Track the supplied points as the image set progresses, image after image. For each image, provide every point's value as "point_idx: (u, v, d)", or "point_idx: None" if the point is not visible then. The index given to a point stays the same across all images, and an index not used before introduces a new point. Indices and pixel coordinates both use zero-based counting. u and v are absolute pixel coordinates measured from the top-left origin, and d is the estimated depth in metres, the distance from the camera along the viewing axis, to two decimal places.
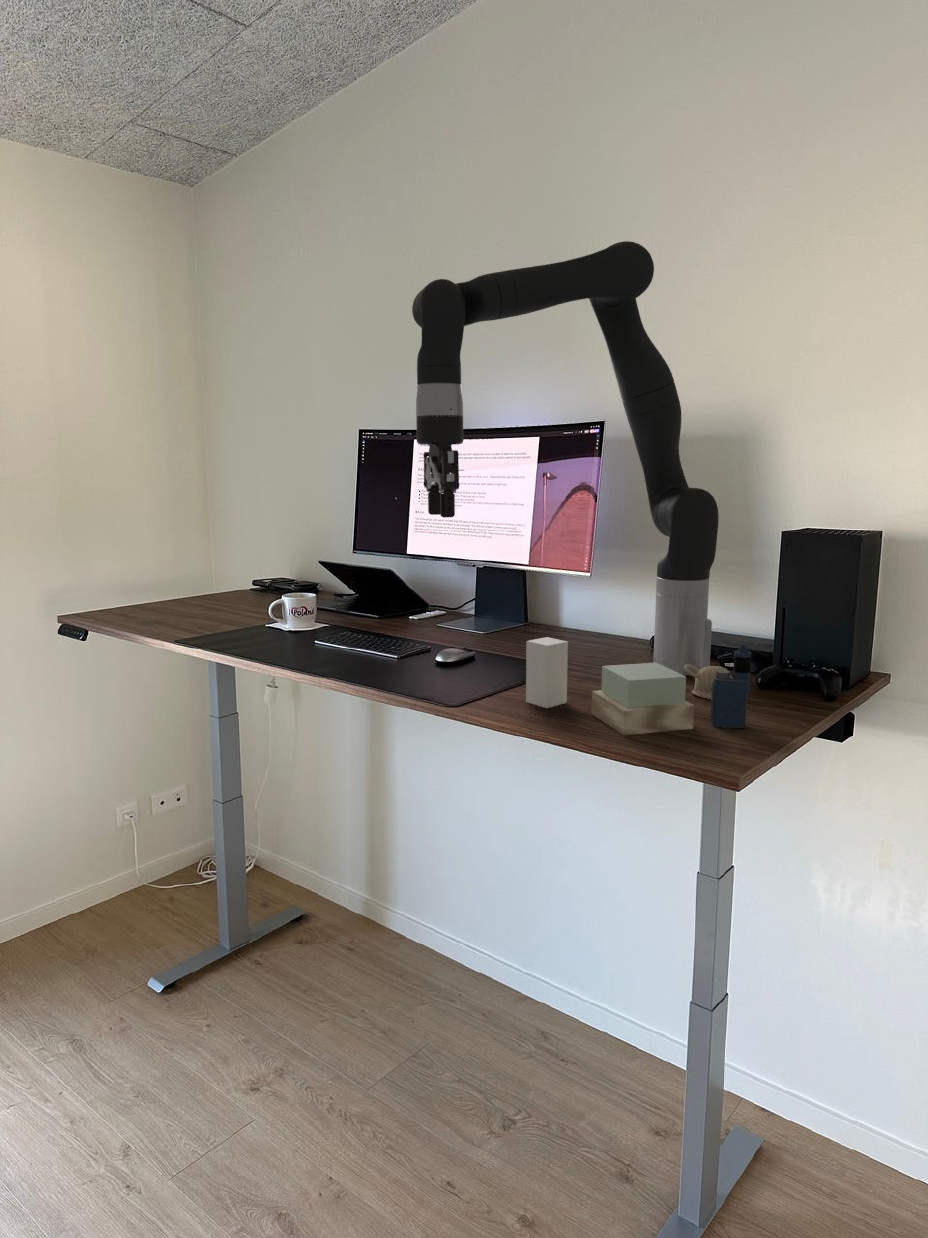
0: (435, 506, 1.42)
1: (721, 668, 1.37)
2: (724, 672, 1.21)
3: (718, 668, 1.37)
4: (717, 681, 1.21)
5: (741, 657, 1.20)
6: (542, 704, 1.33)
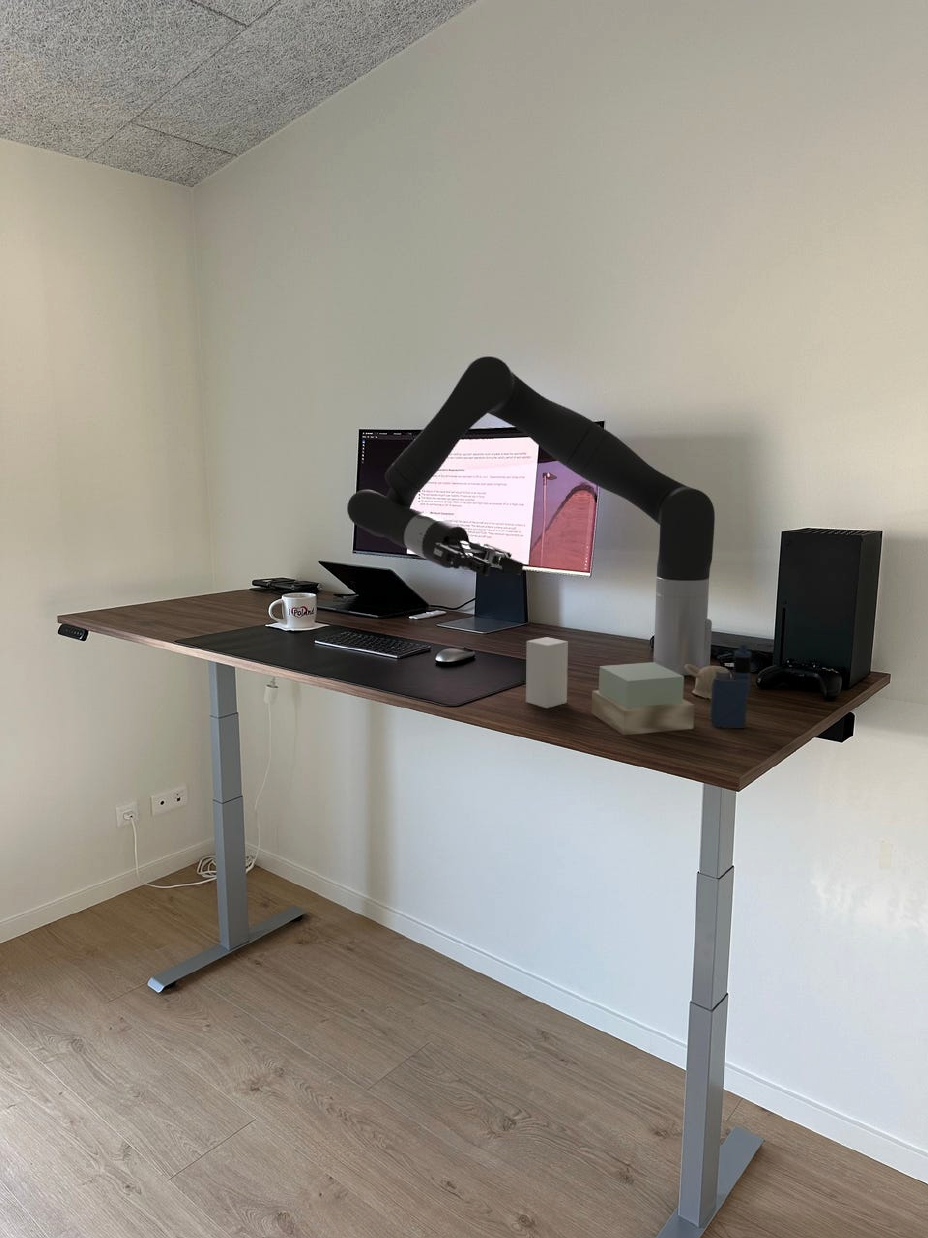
0: (513, 567, 1.43)
1: (722, 668, 1.37)
2: (724, 672, 1.21)
3: (719, 668, 1.37)
4: (717, 681, 1.21)
5: (741, 657, 1.20)
6: (542, 704, 1.33)
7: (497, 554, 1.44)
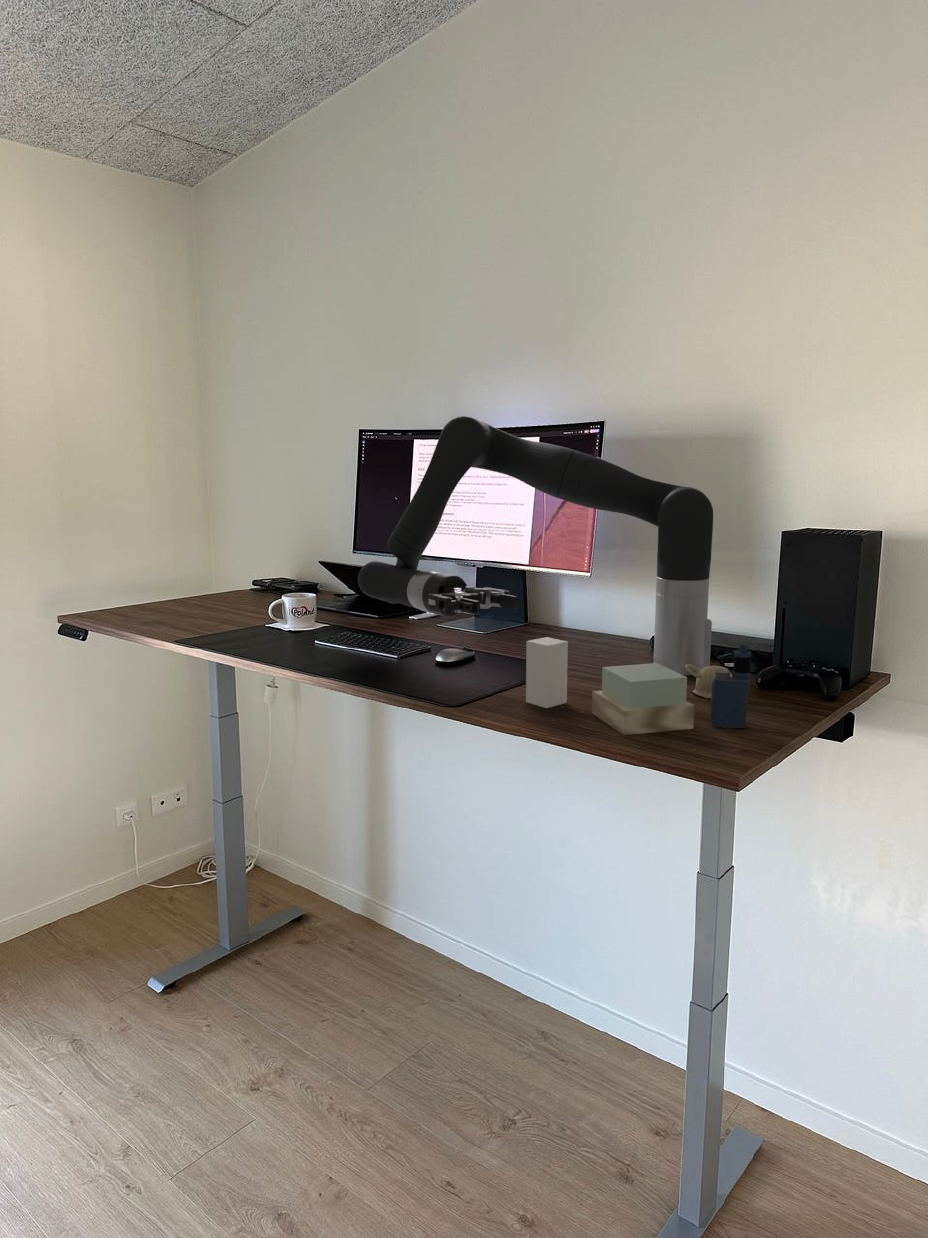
0: (509, 602, 1.45)
1: (722, 668, 1.37)
2: (724, 672, 1.21)
3: (719, 668, 1.37)
4: (717, 681, 1.21)
5: (741, 657, 1.20)
6: (542, 704, 1.33)
7: (493, 593, 1.47)
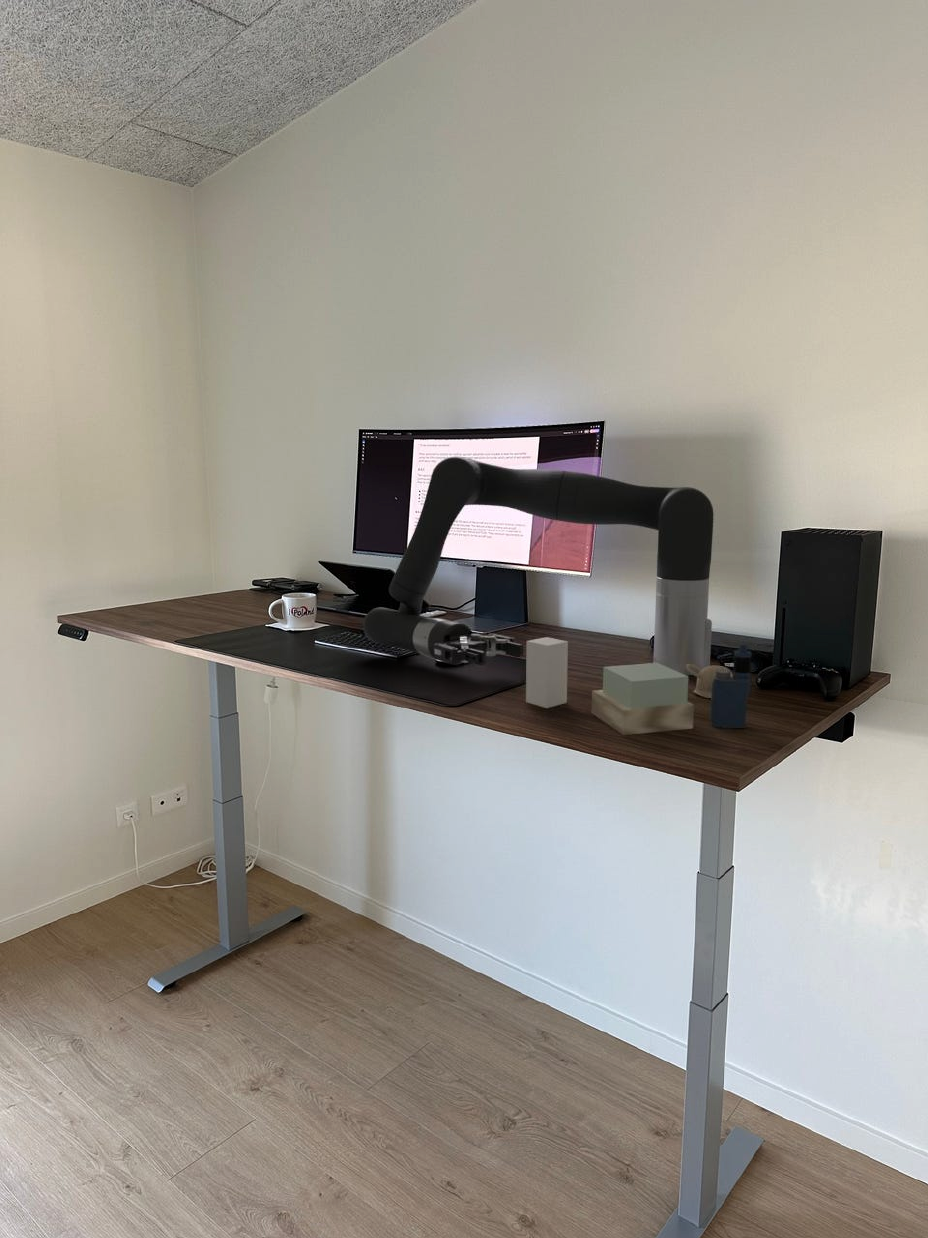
0: (514, 650, 1.46)
1: (723, 668, 1.37)
2: (724, 672, 1.21)
3: (720, 668, 1.37)
4: (717, 681, 1.21)
5: (741, 657, 1.20)
6: (542, 704, 1.33)
7: (498, 641, 1.48)
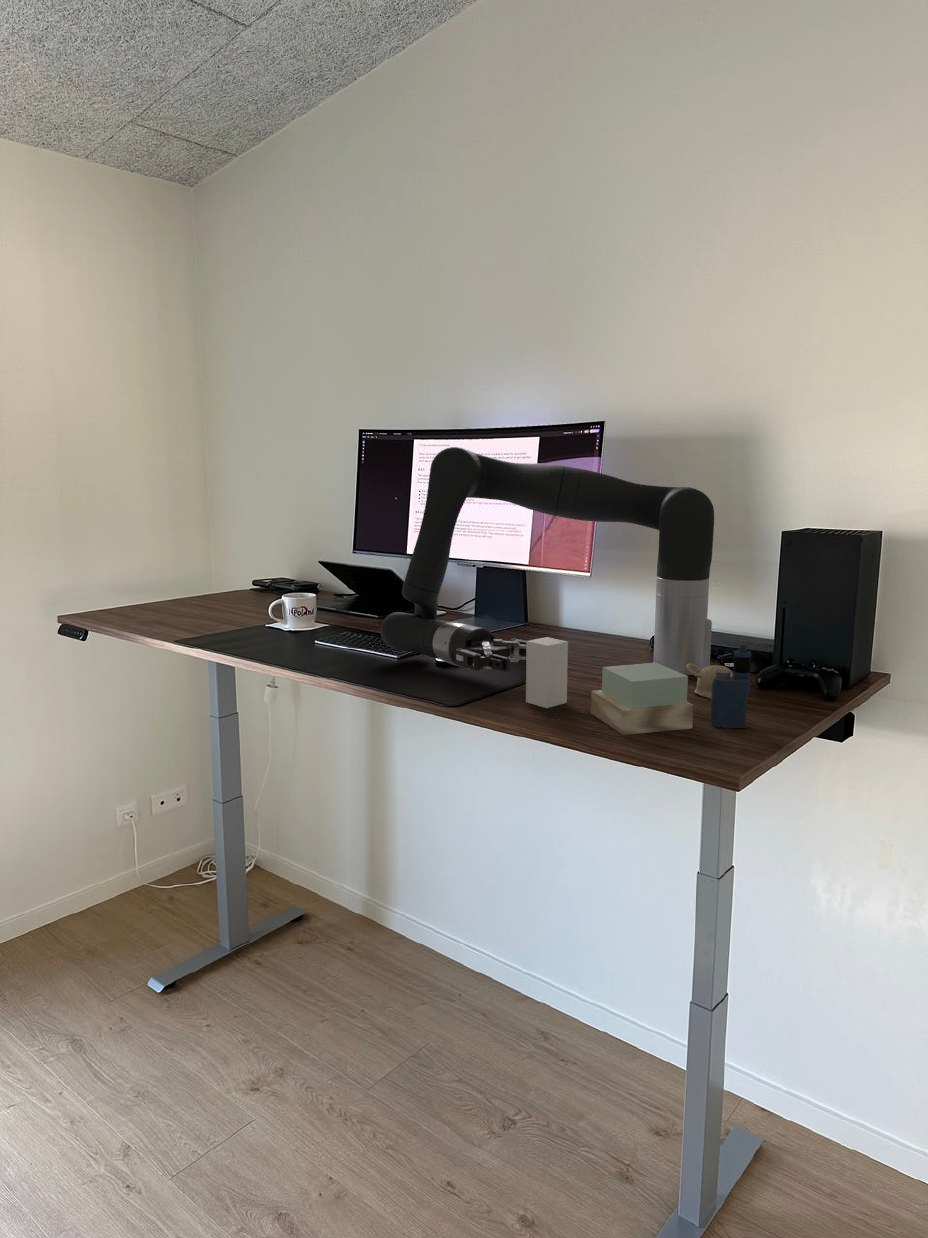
0: None
1: (723, 667, 1.37)
2: (724, 672, 1.21)
3: (720, 667, 1.37)
4: (717, 681, 1.21)
5: (741, 657, 1.20)
6: (542, 704, 1.33)
7: (522, 646, 1.44)
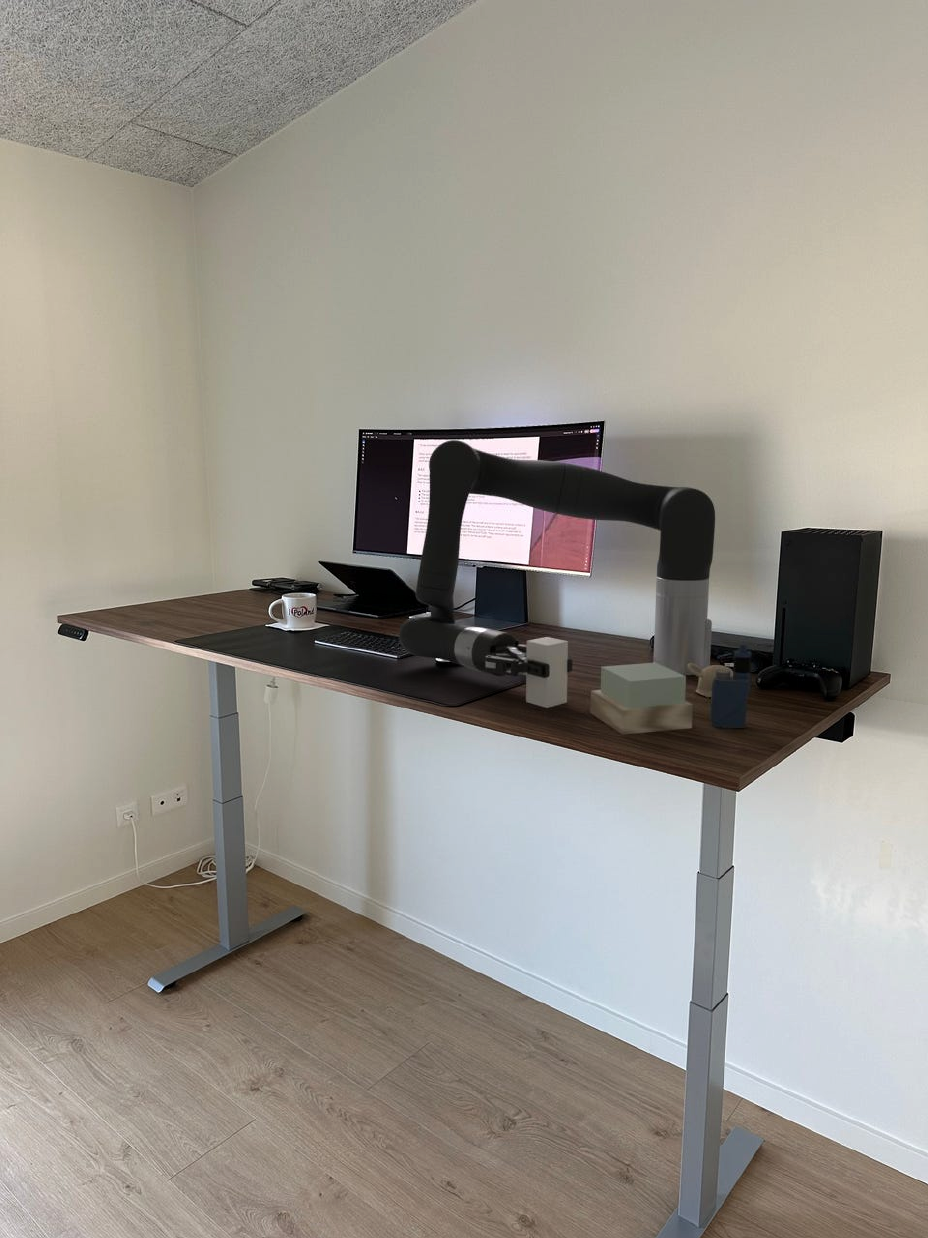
0: None
1: (724, 667, 1.38)
2: (724, 672, 1.21)
3: (721, 667, 1.37)
4: (717, 681, 1.21)
5: (741, 657, 1.20)
6: (542, 704, 1.33)
7: None
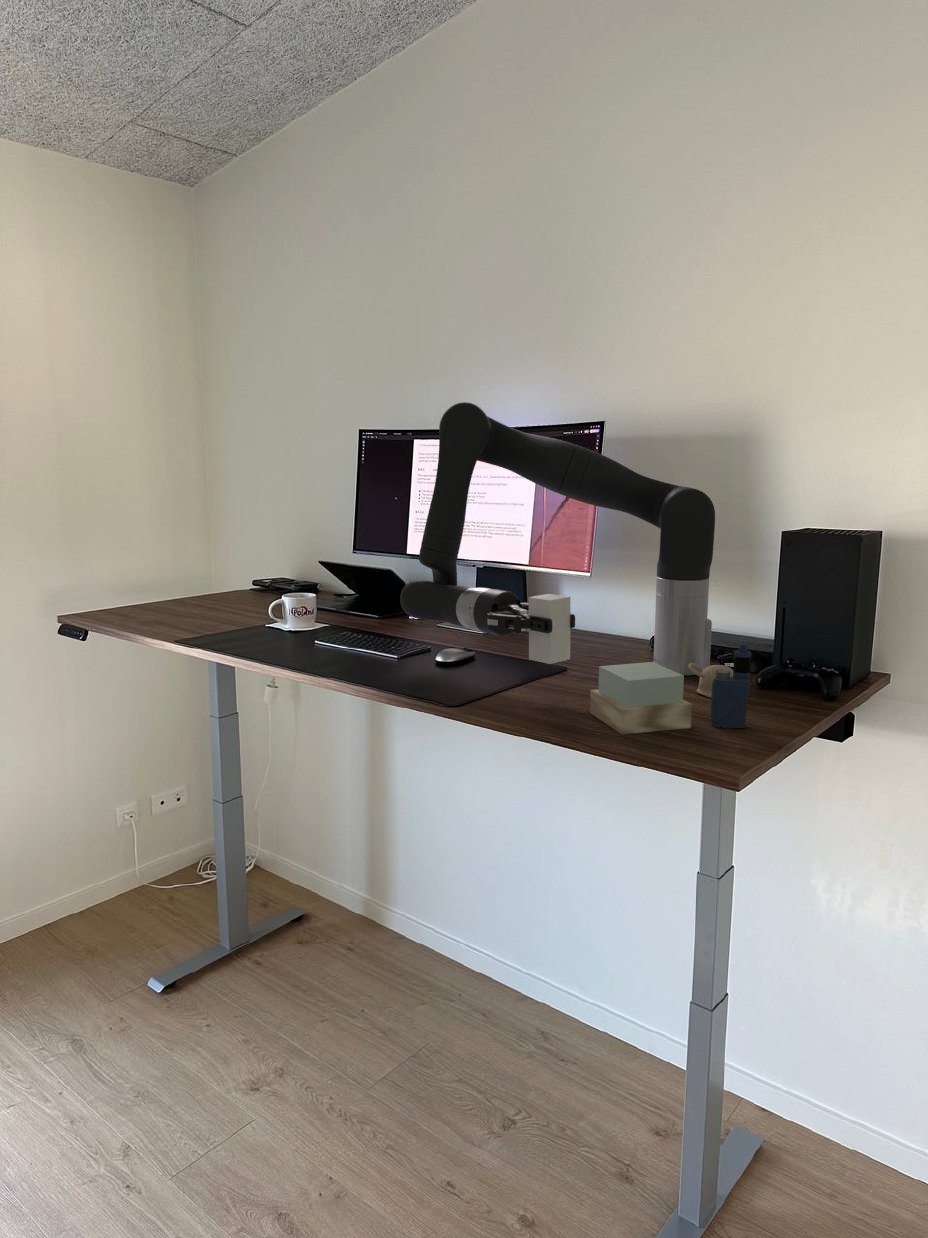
0: None
1: (725, 667, 1.38)
2: (724, 672, 1.21)
3: (722, 667, 1.38)
4: (717, 681, 1.21)
5: (741, 657, 1.20)
6: (545, 660, 1.32)
7: None
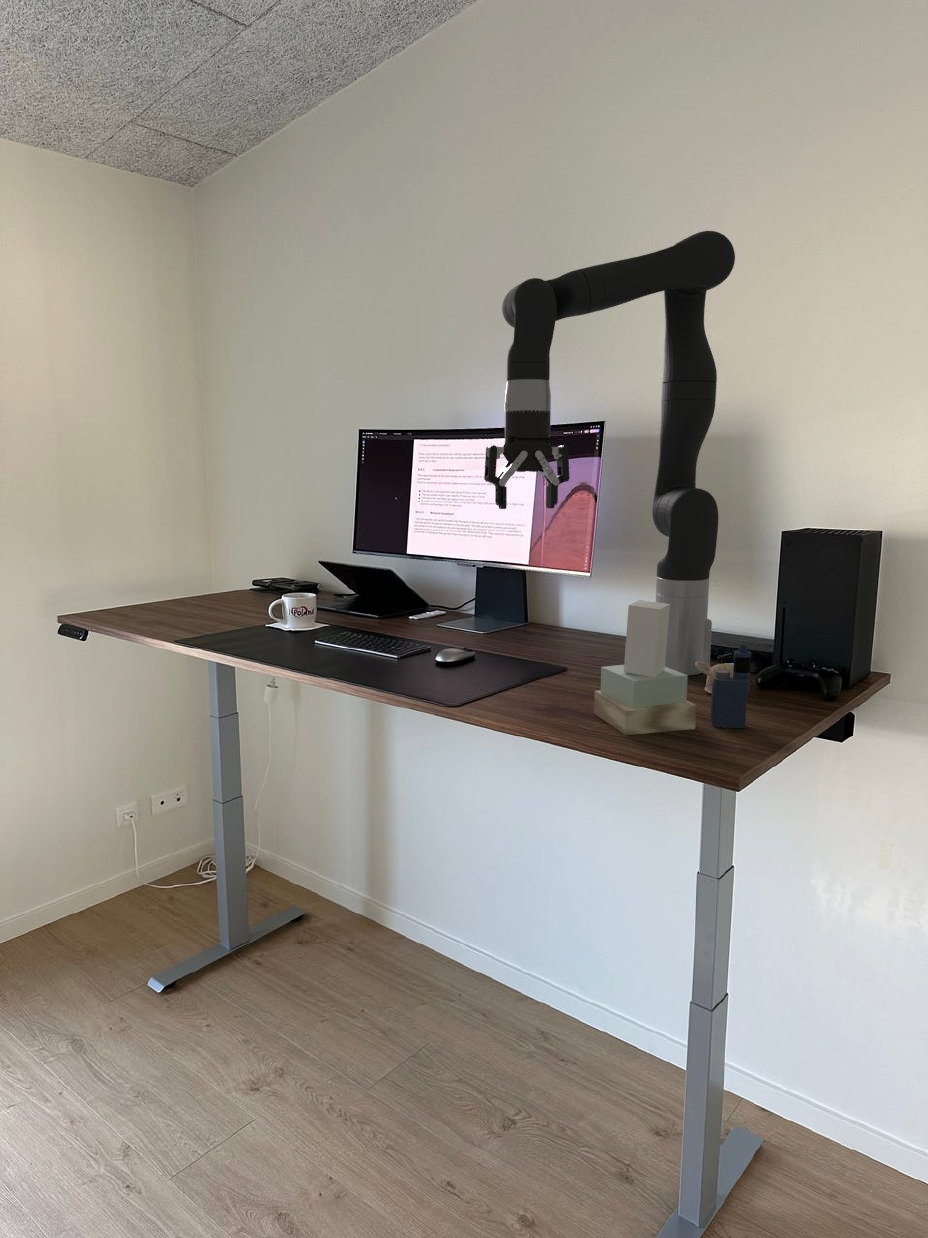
0: (548, 500, 1.44)
1: (732, 666, 1.38)
2: (724, 672, 1.21)
3: (729, 666, 1.38)
4: (717, 681, 1.21)
5: (741, 657, 1.20)
6: (648, 673, 1.21)
7: (549, 478, 1.42)
